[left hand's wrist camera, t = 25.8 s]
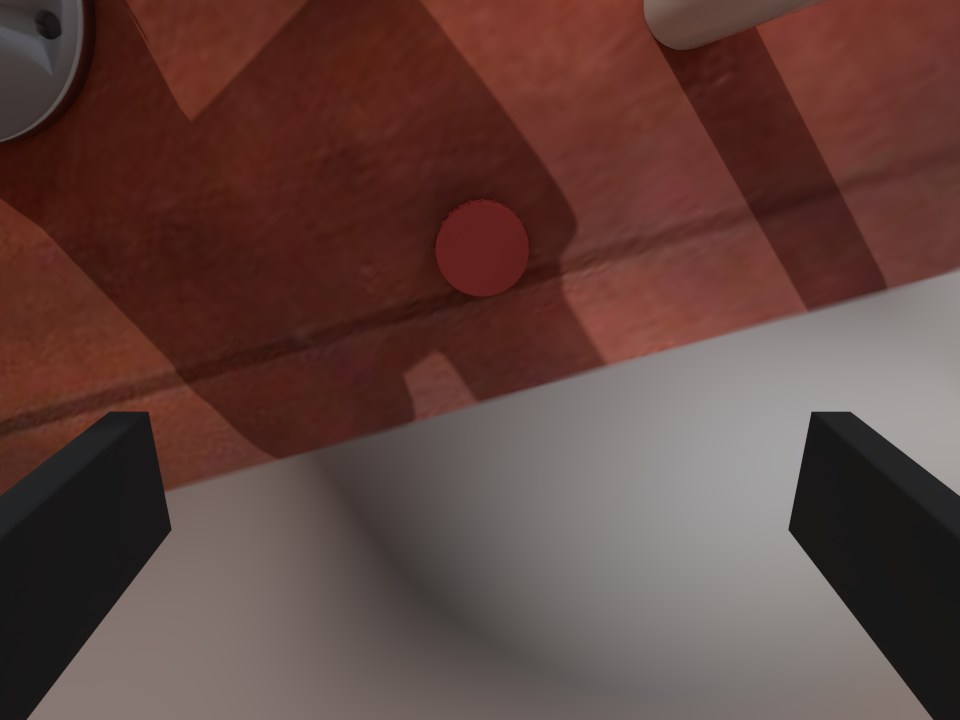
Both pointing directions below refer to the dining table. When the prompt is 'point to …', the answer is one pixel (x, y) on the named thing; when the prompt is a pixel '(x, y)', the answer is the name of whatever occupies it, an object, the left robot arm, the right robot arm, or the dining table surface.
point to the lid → (482, 248)
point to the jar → (712, 18)
